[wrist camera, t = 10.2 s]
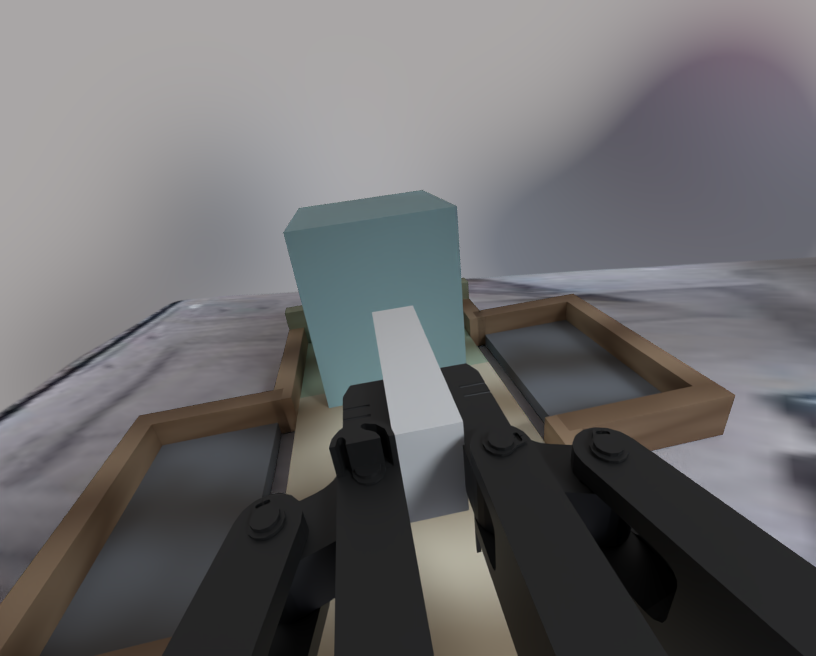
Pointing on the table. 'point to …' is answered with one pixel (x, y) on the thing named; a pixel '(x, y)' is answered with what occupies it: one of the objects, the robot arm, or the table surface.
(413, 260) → the teal block
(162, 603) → the trap lane
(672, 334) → the table surface
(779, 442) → the table surface
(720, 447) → the table surface
